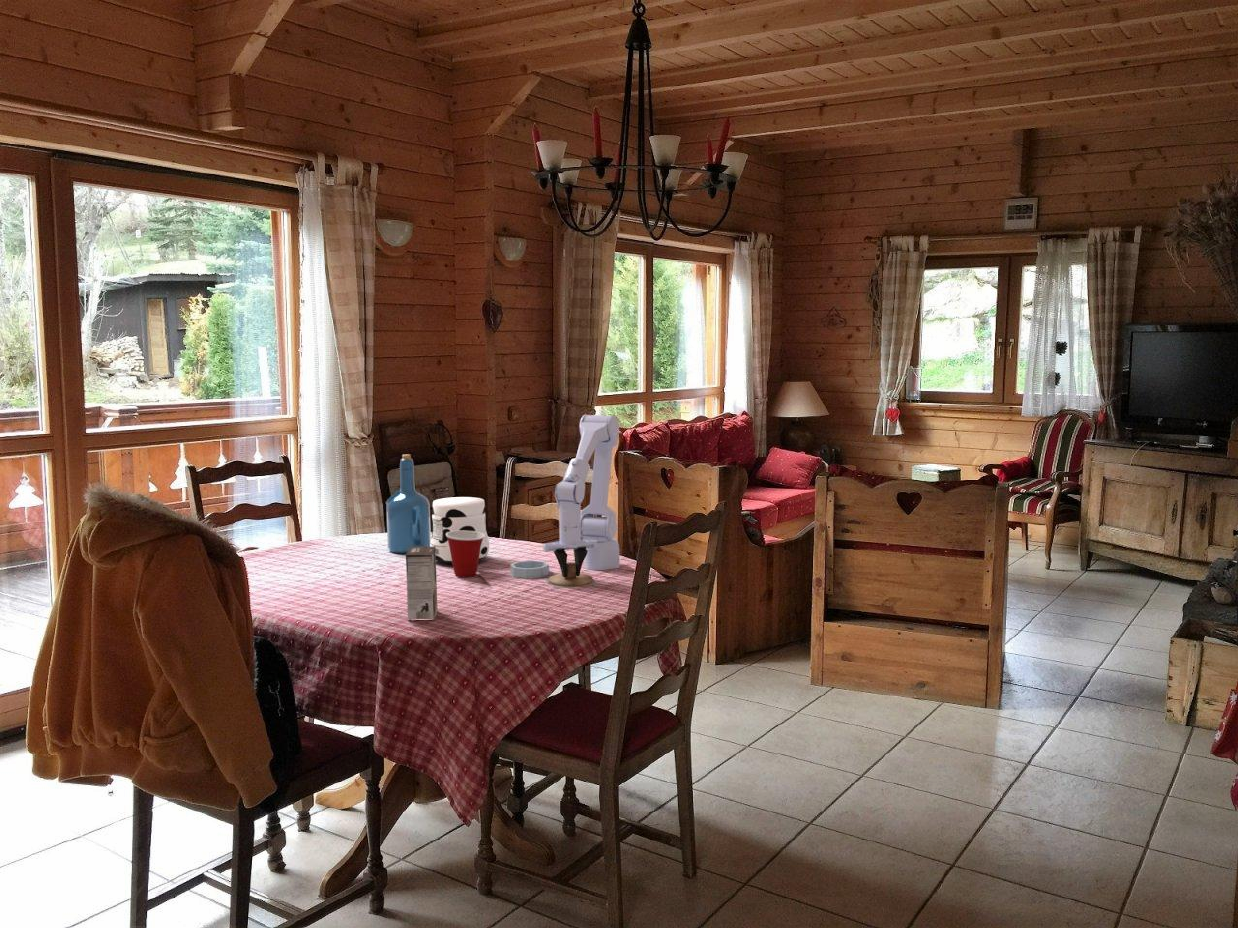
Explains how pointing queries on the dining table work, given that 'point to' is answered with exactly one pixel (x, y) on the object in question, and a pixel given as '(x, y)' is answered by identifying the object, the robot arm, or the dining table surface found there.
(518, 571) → the bowl
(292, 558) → the dining table surface
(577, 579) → the lid
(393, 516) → the wine bottle
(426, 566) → the coffee box
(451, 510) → the white black patterned jar
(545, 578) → the mat
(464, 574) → the plastic cup
